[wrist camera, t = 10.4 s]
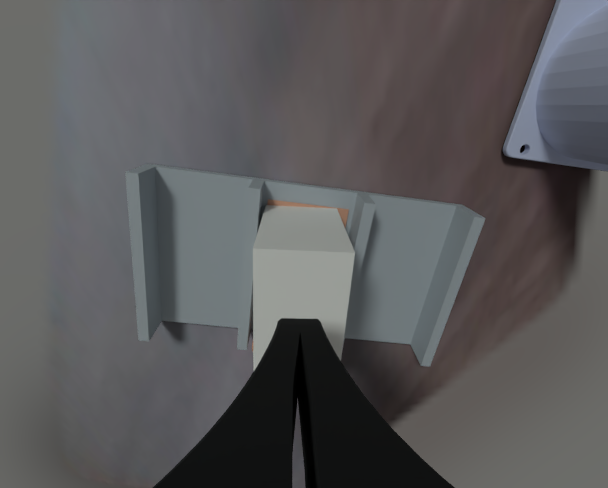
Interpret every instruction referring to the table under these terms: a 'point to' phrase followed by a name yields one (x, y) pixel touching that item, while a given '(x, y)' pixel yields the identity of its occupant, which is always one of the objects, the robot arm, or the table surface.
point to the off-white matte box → (301, 272)
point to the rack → (241, 237)
